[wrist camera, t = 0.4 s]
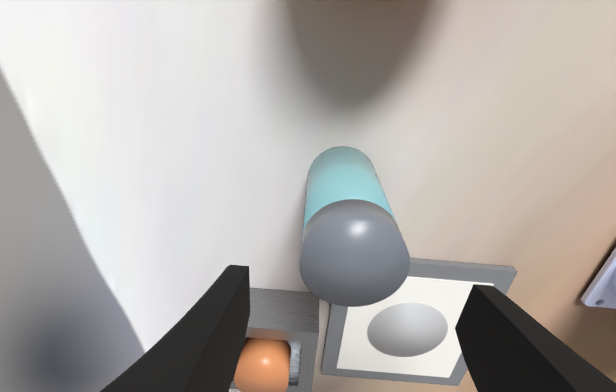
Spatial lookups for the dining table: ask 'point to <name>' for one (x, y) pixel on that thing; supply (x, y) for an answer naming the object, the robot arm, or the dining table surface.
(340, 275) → the marker
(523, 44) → the dining table surface
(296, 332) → the button housing
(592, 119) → the dining table surface
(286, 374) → the button
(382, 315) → the board
